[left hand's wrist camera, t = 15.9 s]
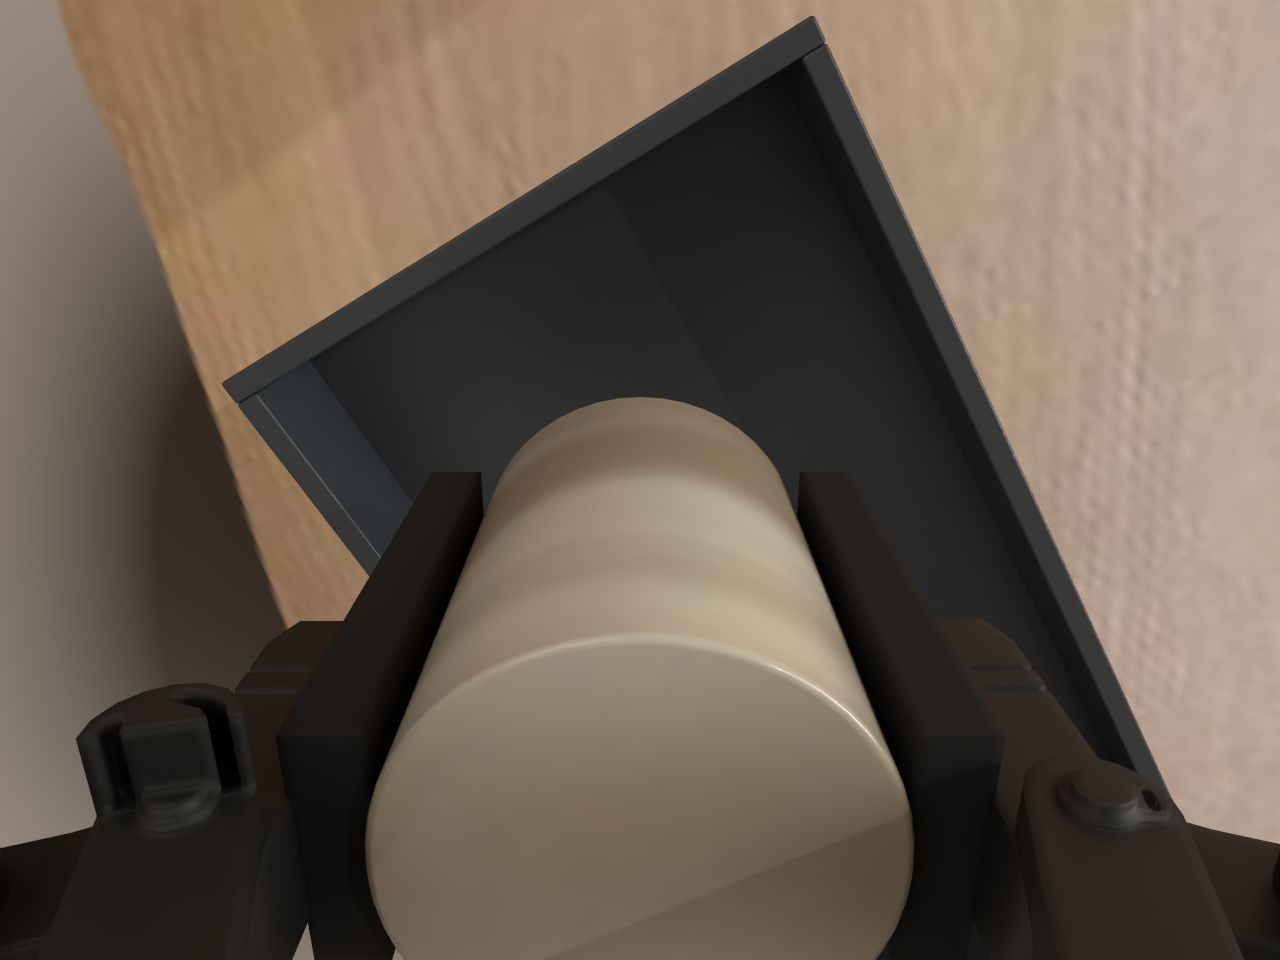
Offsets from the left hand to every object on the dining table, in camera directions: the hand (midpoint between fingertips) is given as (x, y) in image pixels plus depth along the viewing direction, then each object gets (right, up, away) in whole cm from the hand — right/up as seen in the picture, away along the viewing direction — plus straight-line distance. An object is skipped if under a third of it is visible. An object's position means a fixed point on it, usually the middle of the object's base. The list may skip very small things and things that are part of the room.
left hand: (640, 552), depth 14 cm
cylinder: (0, 0, 0) cm, 0 cm away
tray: (+3, -2, +9) cm, 10 cm away
